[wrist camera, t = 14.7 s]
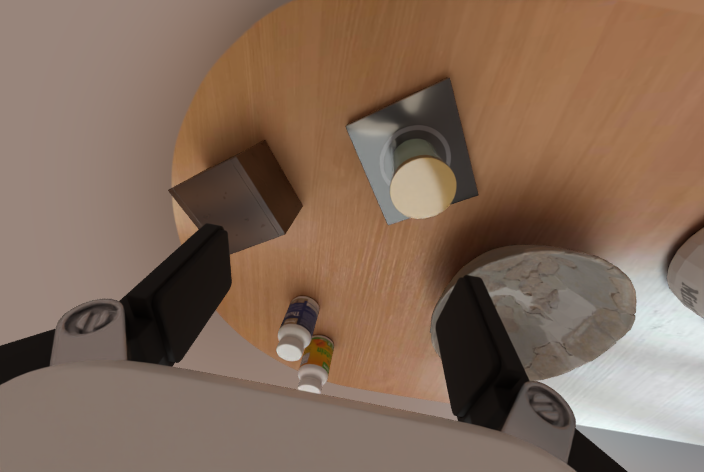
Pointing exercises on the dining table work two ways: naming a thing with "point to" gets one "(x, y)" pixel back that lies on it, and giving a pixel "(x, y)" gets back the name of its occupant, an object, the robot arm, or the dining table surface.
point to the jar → (420, 180)
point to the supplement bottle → (315, 364)
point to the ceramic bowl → (552, 304)
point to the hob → (413, 123)
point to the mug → (689, 273)
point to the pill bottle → (297, 328)
